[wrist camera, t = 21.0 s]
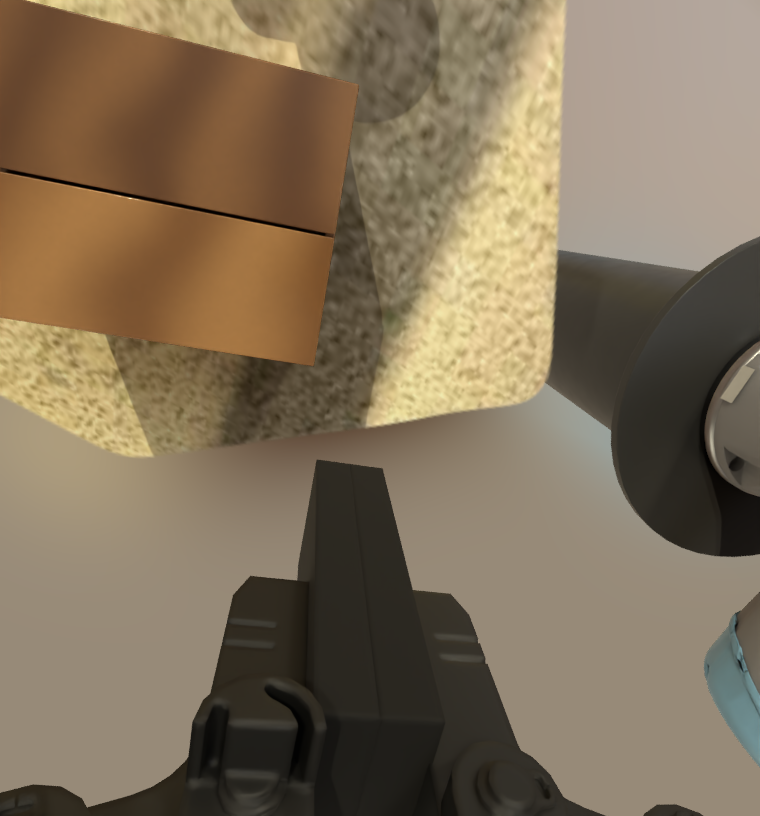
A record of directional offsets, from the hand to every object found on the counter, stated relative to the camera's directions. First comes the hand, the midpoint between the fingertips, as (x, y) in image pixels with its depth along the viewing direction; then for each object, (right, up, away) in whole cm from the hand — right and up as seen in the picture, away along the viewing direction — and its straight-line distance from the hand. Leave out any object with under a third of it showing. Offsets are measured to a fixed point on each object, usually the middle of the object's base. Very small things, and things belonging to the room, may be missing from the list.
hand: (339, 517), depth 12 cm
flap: (-9, +9, +13) cm, 18 cm away
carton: (-10, +15, +22) cm, 29 cm away
